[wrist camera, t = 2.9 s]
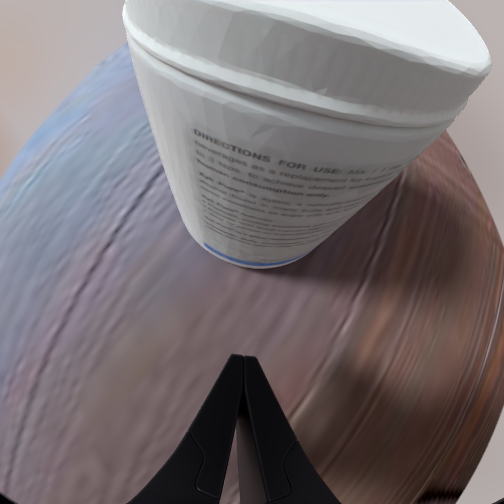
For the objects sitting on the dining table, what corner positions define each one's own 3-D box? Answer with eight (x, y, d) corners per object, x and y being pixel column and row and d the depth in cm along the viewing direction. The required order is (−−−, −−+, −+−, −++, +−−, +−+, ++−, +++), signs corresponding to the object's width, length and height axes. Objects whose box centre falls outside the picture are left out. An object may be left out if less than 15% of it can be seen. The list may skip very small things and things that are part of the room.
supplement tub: (353, 201, 18) (507, 48, 4) (258, 306, 16) (480, 215, 2) (250, 113, 19) (291, -77, 5) (146, 194, 17) (56, -30, 3)
